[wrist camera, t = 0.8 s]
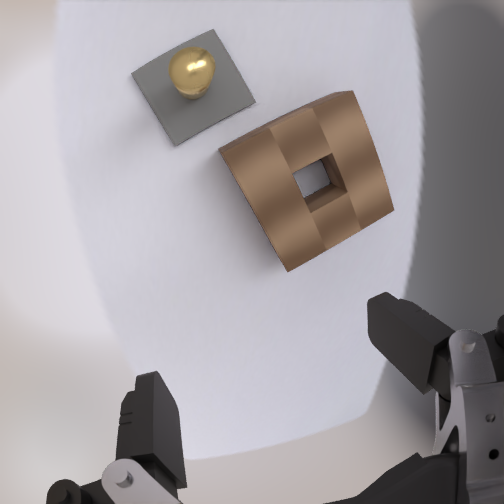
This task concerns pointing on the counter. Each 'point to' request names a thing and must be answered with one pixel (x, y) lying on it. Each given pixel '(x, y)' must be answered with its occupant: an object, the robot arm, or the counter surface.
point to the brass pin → (192, 71)
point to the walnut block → (300, 155)
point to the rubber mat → (199, 110)
